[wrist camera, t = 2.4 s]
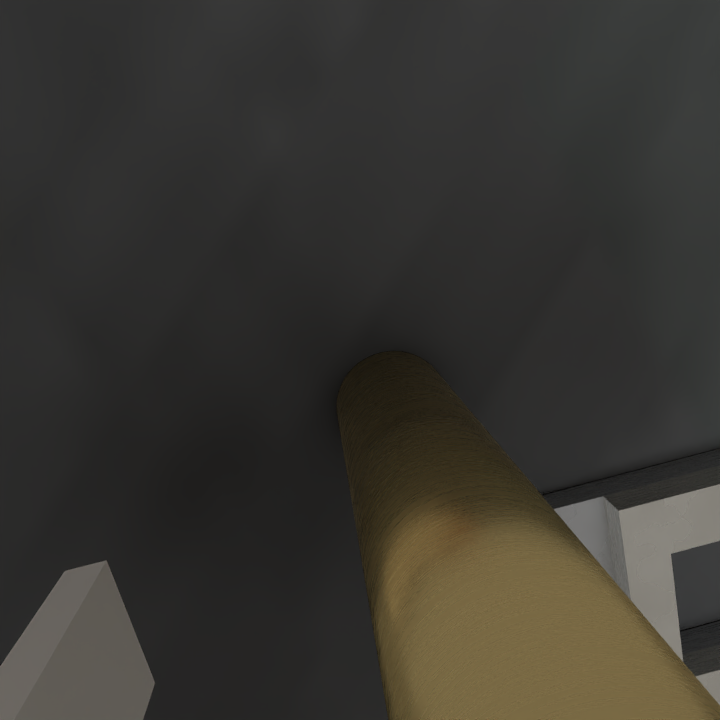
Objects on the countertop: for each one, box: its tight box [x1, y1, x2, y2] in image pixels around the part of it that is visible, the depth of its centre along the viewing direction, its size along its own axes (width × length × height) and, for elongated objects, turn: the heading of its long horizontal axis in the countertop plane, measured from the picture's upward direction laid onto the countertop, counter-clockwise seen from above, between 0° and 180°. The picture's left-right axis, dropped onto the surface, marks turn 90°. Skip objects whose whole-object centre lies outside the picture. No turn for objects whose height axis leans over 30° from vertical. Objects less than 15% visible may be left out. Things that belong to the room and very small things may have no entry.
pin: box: [337, 351, 720, 720], centre depth 12 cm, size 4×4×15 cm
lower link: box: [542, 449, 720, 654], centre depth 21 cm, size 16×9×1 cm, turn 103°
